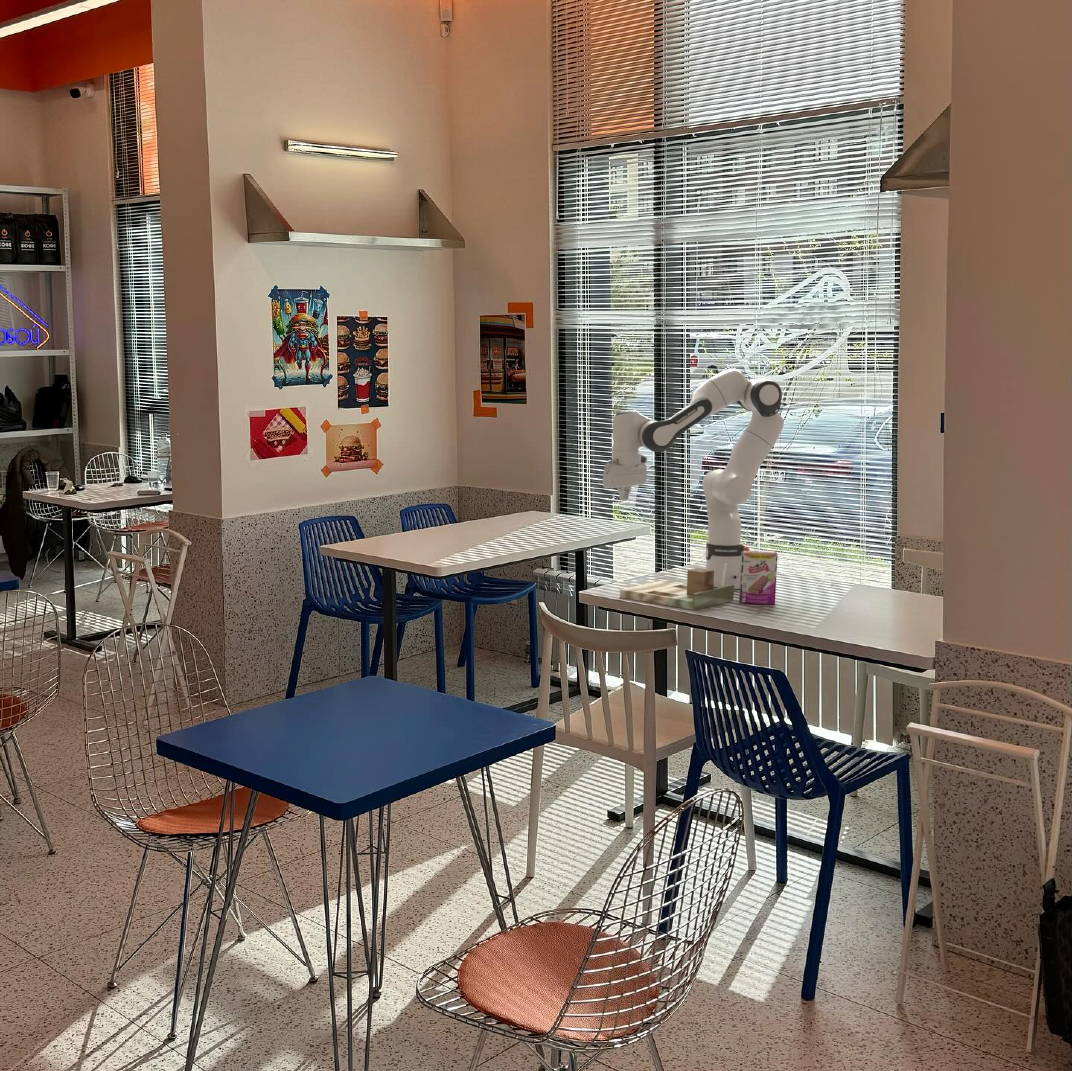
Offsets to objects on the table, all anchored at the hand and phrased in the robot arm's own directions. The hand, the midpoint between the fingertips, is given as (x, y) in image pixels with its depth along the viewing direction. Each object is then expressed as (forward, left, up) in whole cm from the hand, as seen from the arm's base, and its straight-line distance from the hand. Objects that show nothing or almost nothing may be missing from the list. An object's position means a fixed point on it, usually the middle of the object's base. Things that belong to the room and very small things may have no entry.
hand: (624, 499), depth 418 cm
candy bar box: (-39, +30, -29) cm, 57 cm away
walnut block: (-21, +30, -27) cm, 45 cm away
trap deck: (-14, +23, -29) cm, 40 cm away
